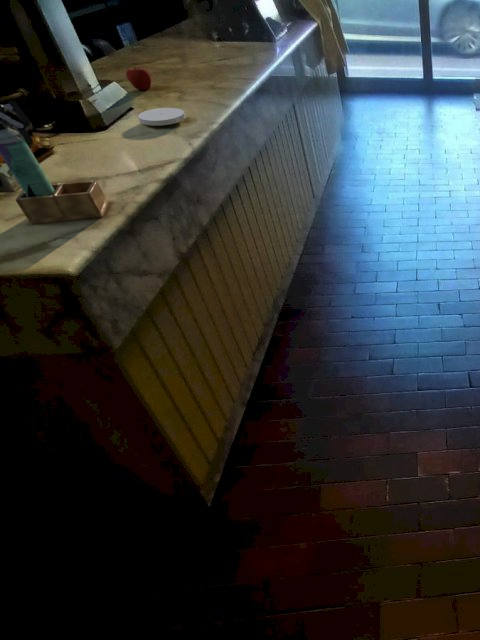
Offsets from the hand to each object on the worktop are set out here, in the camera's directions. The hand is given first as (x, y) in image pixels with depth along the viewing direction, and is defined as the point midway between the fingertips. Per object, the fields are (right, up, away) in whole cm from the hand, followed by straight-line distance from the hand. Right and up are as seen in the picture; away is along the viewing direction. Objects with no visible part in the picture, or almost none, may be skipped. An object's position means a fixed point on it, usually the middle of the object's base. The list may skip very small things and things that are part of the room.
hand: (9, 150), depth 119 cm
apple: (-27, +61, +81) cm, 105 cm away
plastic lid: (-2, +35, +56) cm, 66 cm away
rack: (+9, -12, +7) cm, 17 cm away
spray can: (+5, -12, +5) cm, 14 cm away
